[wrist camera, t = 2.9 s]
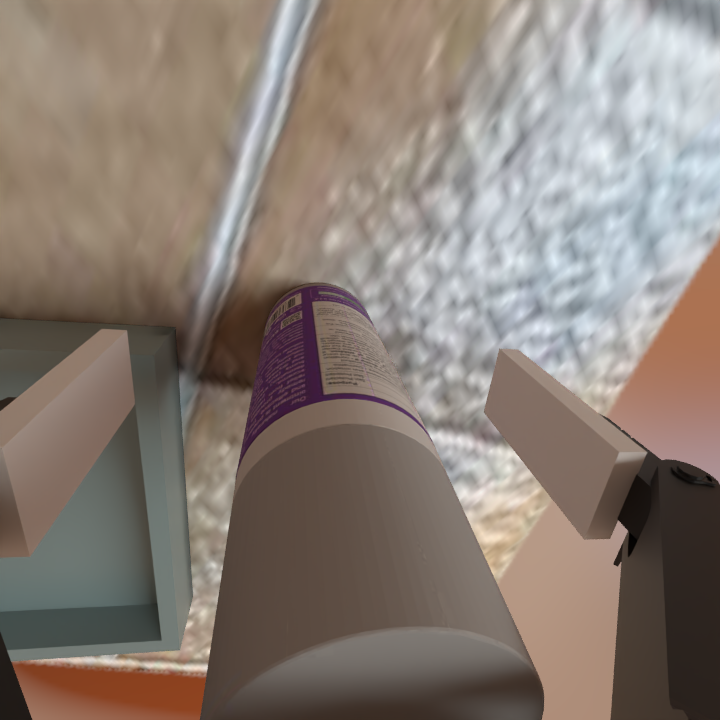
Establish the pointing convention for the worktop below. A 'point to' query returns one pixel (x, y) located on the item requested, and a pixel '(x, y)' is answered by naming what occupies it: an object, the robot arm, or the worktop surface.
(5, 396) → the tray
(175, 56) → the worktop surface
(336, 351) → the container
